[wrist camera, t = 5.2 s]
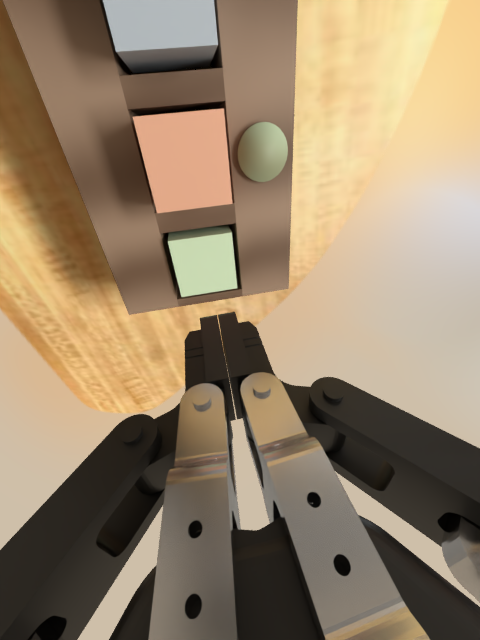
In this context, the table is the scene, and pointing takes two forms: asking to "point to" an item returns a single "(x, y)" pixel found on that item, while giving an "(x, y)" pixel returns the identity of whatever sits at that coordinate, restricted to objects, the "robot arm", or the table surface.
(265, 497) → the robot arm
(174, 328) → the table surface
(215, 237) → the sage button
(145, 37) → the slate button
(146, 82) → the console
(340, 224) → the table surface
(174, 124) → the terracotta button
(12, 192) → the table surface
